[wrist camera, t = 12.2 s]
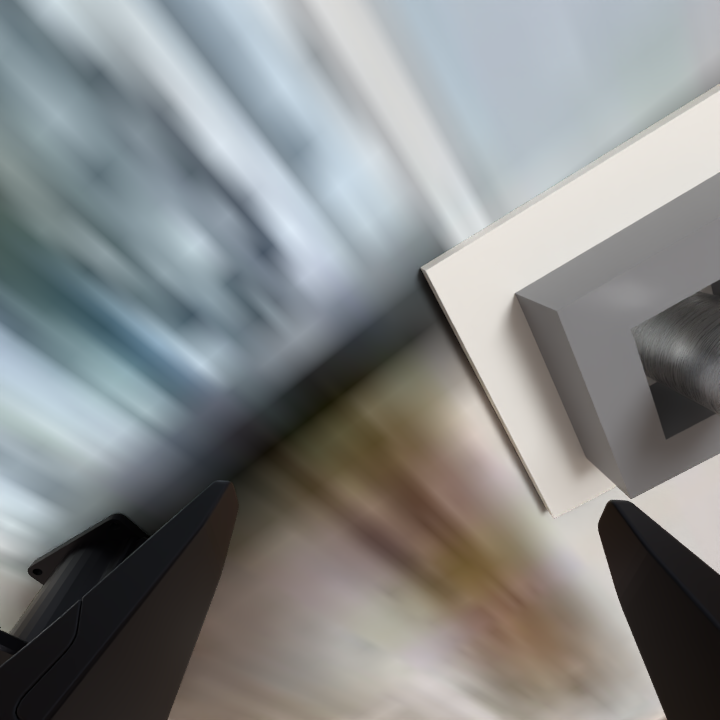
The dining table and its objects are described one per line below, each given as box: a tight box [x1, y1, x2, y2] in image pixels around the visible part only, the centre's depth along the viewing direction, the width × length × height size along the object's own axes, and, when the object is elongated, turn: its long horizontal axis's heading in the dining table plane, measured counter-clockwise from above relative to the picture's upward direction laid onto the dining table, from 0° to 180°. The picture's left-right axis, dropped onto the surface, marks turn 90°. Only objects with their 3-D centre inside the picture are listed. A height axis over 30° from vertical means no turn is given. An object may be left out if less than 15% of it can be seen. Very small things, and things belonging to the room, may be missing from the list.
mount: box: [420, 84, 720, 519], centre depth 19 cm, size 18×18×4 cm
